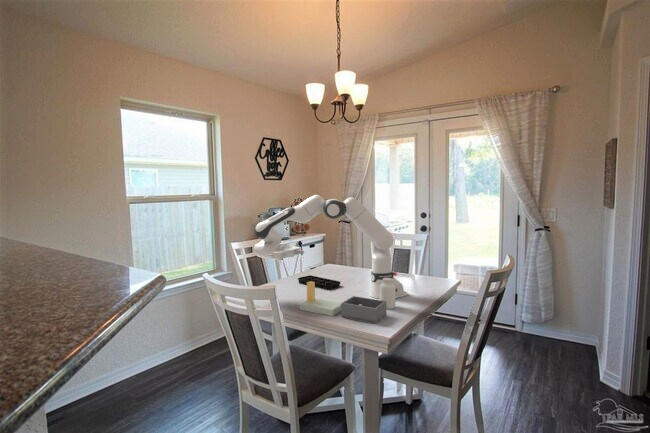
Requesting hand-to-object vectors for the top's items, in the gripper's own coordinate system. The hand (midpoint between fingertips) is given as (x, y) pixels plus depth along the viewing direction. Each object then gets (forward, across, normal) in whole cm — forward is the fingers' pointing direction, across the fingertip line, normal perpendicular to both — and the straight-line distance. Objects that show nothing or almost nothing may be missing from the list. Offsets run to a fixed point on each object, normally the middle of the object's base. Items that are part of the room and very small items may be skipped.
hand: (298, 253), depth 192 cm
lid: (+15, 0, +28) cm, 32 cm away
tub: (+39, 0, +28) cm, 48 cm away
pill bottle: (+44, +19, +28) cm, 55 cm away
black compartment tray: (-12, +39, +28) cm, 50 cm away
